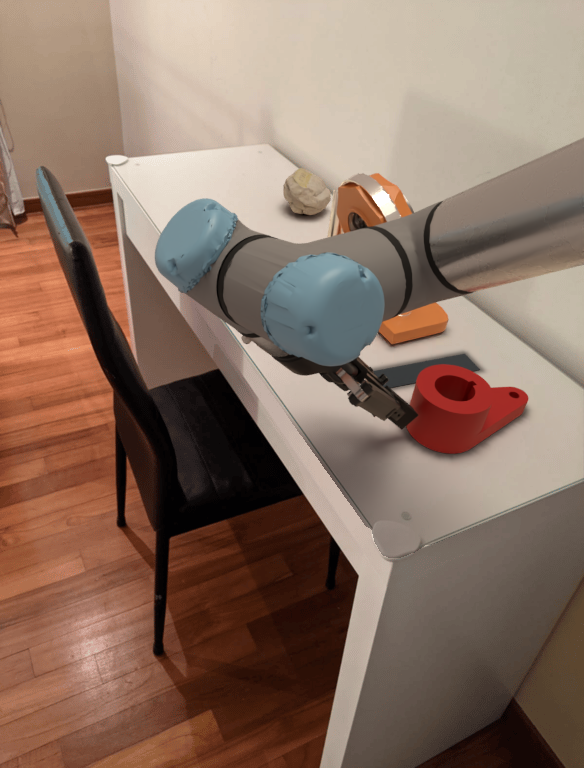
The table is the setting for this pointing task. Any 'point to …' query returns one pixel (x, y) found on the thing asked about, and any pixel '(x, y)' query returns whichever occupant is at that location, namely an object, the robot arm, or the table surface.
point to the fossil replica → (306, 192)
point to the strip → (411, 371)
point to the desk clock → (370, 208)
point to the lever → (460, 408)
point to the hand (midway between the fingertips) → (407, 418)
